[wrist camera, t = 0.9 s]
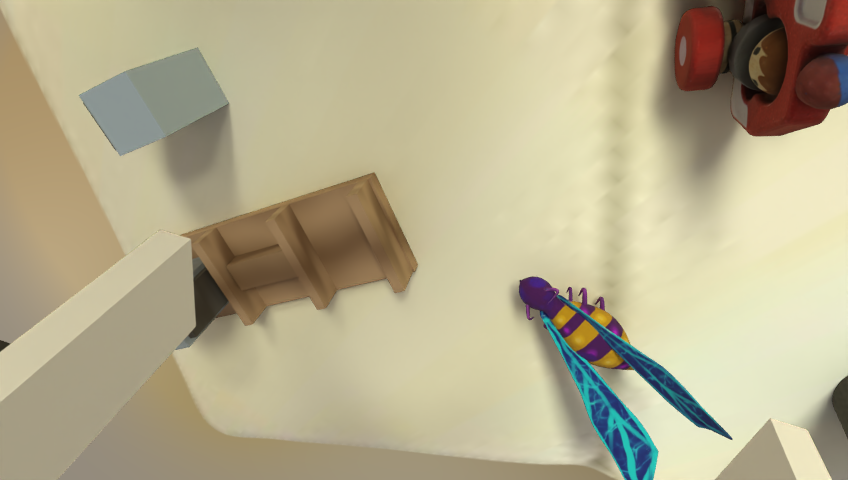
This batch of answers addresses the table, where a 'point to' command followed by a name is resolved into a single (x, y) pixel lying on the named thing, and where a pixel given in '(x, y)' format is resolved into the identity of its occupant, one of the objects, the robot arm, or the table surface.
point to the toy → (609, 347)
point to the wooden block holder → (297, 253)
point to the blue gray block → (154, 100)
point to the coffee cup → (842, 403)
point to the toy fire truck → (769, 60)
